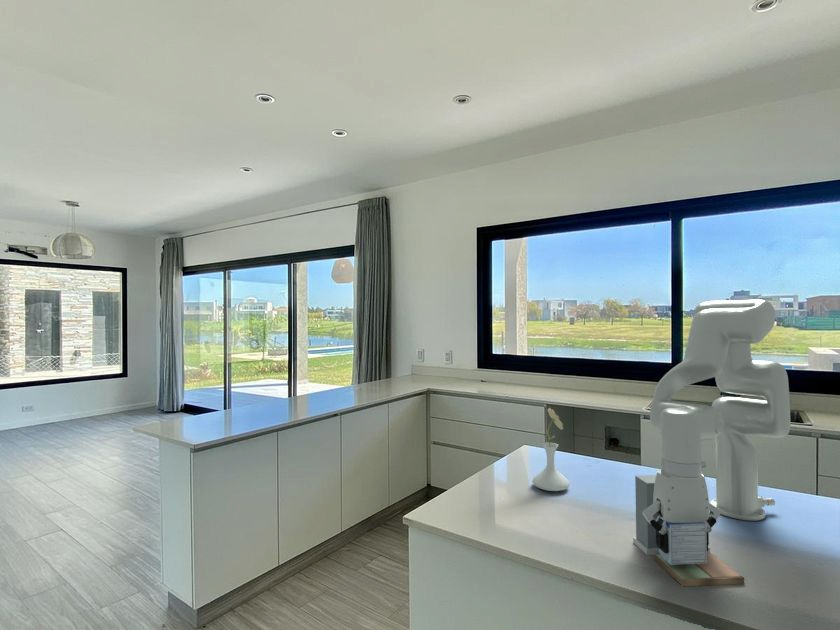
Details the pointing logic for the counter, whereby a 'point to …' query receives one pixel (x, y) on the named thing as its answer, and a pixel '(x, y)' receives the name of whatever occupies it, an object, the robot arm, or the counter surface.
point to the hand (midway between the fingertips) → (682, 548)
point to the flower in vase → (551, 464)
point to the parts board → (701, 572)
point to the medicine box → (686, 543)
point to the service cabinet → (643, 529)
